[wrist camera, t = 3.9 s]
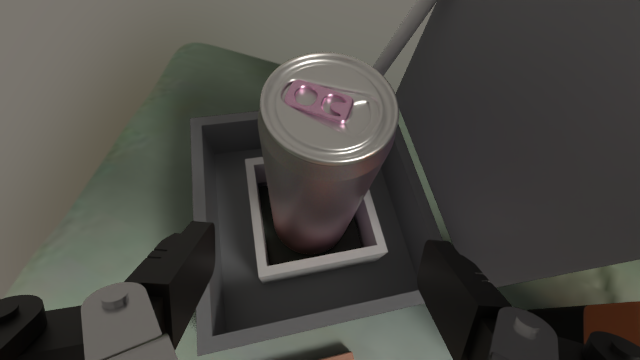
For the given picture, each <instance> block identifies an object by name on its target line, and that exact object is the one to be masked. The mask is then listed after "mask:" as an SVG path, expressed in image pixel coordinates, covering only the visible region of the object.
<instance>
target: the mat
mask: <svg viewBox="0 0 640 360" xmlns="http://www.w3.org/2000/svg"><path fill="white" fill-rule="evenodd" d="M318 360H354V358H353V353H352V352H351V351H350V352H346V353H342V354H338V355H334V356H330V357H326V358H322V359H318Z"/></svg>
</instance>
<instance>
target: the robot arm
mask: <svg viewBox="0 0 640 360" xmlns="http://www.w3.org/2000/svg"><path fill="white" fill-rule="evenodd" d="M214 268H215V225H214V223H212V222H199V221H192V222H191V223H190V224H189V225H188V226H187V227H186V229H185V230H184V231H183V232H182V233H181V234H179V233H174V234H173V235H171V236H169V237H167V238H165V239H164V240H162V241H161V242H160V243H159V244H158V245H157V246H156V248H155V249H154V251H152V252H151V253H150V254H149V255H148V257H147V258H145V260H144V261H143V262H142V263H141V264H140V265H139V266H138V267H137V268H136V269H135V270H134V272H133V273H132V274H131V275H130V276H129V277H128V278H127V279H126V280H125V281H124V282H122V283H116V284H112V285H109V286H106V287H103V288H101V289H99V290H97V291H96V292H94V293H92V294H91V295H90V296H89V297H87V299H86V300H85V301H84V302H83V304H82V305H81V306H76V307H69V308H63V309H56V310H50V311H45V309H44V305H43V301H42V300H41V299H40V298H39V297H37V296H33V295H18V296H12V297H8V298H4V299H0V360H178V358H177V356H176V353H175V349H176V347H177V345H178V343H179V341H180V339H181V337H182V335H183V333H184V331H185V329H186V327H187V325H188V323H189V321H190V319H191V317H192V315H193V313H194V311H195V309H196V307H197V305H198V303H199V301H200V299H201V297H202V295H203V293H204V291H205V289H206V287H207V285H208V283H209V281H210V279H211V277H212V275H213V272H214ZM417 285H418V289H419V292H420V294H421V296H422V298H423V300H424V302H425V304H426V306H427V308H428V310H429V312H430V314H431V316H432V318H433V320H434V322H435V324H436V326H437V328H438V330H439V332H440V334H441V336H442V338H443V340H444V342H445V344H446V346H447V348H448V350H449V352H450V354H451V356H452V358H453V360H640V347H639V346H637V345H636V344H634V343H632V342H630V341H628V340H626V339H624V338H622V337H620V336H617V335H614V334H612V333H608V332H603V331H594V332H592V333H591V334H590V335H589V337H588V339H587V341H586V343H585V344H582V343H579V342H575V341H572V340H568V339H565V338H561V337H558V336H557V335H556V333H555V331H554V330H553V329H552V327H551V326H550V325H549V324H548V323H546V322H545V321H544V320H543V319H541V318H540V317H538V316H536V315H534V314H533V313H531V312H528V311H526V310H523V309H520V308H516V307H512V306H511V305H510V303H509V302H508V301H507V300H506V299H505V298H504V296H503V295H502V294H501V293H500V292H499V291H498V290H497V288H496V287H495V286H494V285H493V284H492V283H490V280H489V279H488V278H487V277H486V276H485V275H483V272H482V271H481V270H480V269H479V268H478V267H477V265H476V264H475V263H473V262H472V261H470V260H469V259H467V258H466V257H465V256H463V255H460V254H459V253H458V251H457V250H456V249H455V248H454V247H453V245H452V244H451V243H450V242H449V241H441V240H427V241H426V243H425V245H424V249H423V254H422V258H421V262H420V266H419V270H418V275H417Z"/></svg>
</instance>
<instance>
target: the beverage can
mask: <svg viewBox="0 0 640 360" xmlns="http://www.w3.org/2000/svg"><path fill="white" fill-rule="evenodd" d="M398 120H399V105H398V101H397V98H396V95H395V92H394V90H393V89H392V87H391V85H390V84H389V83H388V81H387V80H386V79H385V78H384V77H383V75H382V74H381V73H379V72H378V71H377V70H376V69H374V68H373V67H372V66H370V65H369V64H367V63H365V62H363V61H361V60H359V59H356V58H353V57H351V56H348V55H344V54H339V53H331V52H316V53H309V54H304V55H301V56H297V57H295V58H292V59H290V60H288V61H286V62H285V63H283V64H282V65H280V66H279V67H278V68H277V69H275V70H274V71H273V72H272V74H271V75H270V76H269V77H268V79H267V80H266V82H265V84H264V86H263V89H262V92H261V97H260V108H259V112H258V130H259V136H260V142H261V148H262V155H263V161H264V167H265V173H266V179H267V185H268V191H269V198H270V204H271V210H272V216H273V222H274V227H275V231H276V233H277V235H278V237H279V239H280V240H281V241H282V242H283V243H284V244H285V245H286V246H287V247H288V248H290V249H291V250H293V251H295V252H298V253H301V254H307V255H313V254H319V253H323V252H325V251H327V250H329V249H331V248H332V247H334V246H335V245H336V244H337V243H338V242H339V240H340V239H341V237H342V236H343V234H344V232H345V230H346V229H347V227H348V225H349V223H350V221H351V220H352V218H353V216H354V214H355V213H356V211H357V209H358V207H359V205H360V204H361V202H362V200H363V198H364V197H365V195H366V193H367V191H368V189H369V188H370V186H371V184H372V182H373V180H374V179H375V177H376V175H377V173H378V172H379V170H380V168H381V166H382V164H383V163H384V161H385V159H386V157H387V156H388V154H389V152H390V150H391V148H392V146H393V143H394V139H395V133H396V128H397V125H398Z"/></svg>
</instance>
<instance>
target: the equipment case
mask: <svg viewBox="0 0 640 360" xmlns="http://www.w3.org/2000/svg"><path fill="white" fill-rule="evenodd" d="M436 2H437V3H436ZM435 3H436V5H435ZM434 5H435V7H434V9H433V12H432V14H431V16H430V18H429V20H428V23H427V25H426V27H425V29H424V32H423V34H422V36H421V38H420V40H419V43H418V45H417V47H416V49H415V52H414V54H413V56H412V59H411V61H410V63H409V65H408V67H407V69H406V72H405V74H404V76H403V78H402V81H401V83H400V86H399V87H398V90H397V92H396V94H395V95H396V98H397V101H398V105H399V109H400V112H401V114H402V117H403V119H404V122H405V124H406V127H407V129H408V132H409V134H410V137H411V139H412V142H413V144H414V147H415V150H416V152H417V155H418V157H419V160H420V162H421V165H422V167H423V170H424V172H425V175H426V177H427V180H428V182H429V185H430V187H431V190H432V192H433V195H434V198H435V200H436V203H437V205H438V208H439V210H440V213H441V215H442V218H443V220H444V223H445V225H446V228H447V230H448V233H449V235H450V238H451V241H452V243H453V246H454V248H455V249H456V250H457V251H458V253H459V254H460V255H463V256H465V257H466V258H467V259H469V260H470V261H472V262H473V263H475V264H476V265H477V267H478V268H479V269H480V270H481V271H482V272H483V275H485V276H486V277H487V278H488V279H489V280H490V283H492V284H493V285H494V286H495V287H501V286H506V285H512V284H517V283H522V282H527V281H532V280H537V279H542V278H547V277H552V276H557V275H562V274H567V273H573V272H578V271H583V270H588V269H593V268H598V267H603V266H608V265H613V264H618V263H623V262H628V261H634V260H639V259H640V0H417V1H416V2H415V4H414V5H413V7H412V8H411V10H410V11H409V13H408V14H407V16H406V17H405V19H404V20H403V22H402V23H401V25H400V26H399V28H398V29H397V31H396V33H395V34H394V36H393V37H392V39H391V40H390V42H389V43H388V45H387V46H386V48H385V49H384V51H383V52H382V54H381V55H380V57H379V58H378V60H377V61H376V63H375V64H374V66H373V68H374V69H376V70H377V71H378V72H379V73H381V74H382V75H384V74H385V73H386V71H387V70H388V68H389V67H390V66H391V64H392V63H393V62H394V60H395V59H396V57H397V56H398V55H399V53H400V52H401V50H402V49H403V48H404V46H405V45H406V43H407V42H408V41H409V39H410V38H411V37H412V35H413V34H414V32H415V31H416V29H417V28H418V27H419V25H420V24H421V22H422V21H423V20H424V18H425V17H426V16H427V14H428V13H429V12H430V10H431V9H432V7H433V6H434ZM258 112H259V111H253V112H244V113H234V114H225V115H216V116H206V117H197V118H190V132H191V164H192V195H193V221H199V222H212V223H214V225H215V268H214V272H213V275H212V277H211V279H210V281H209V283H208V285H207V287H206V289H205V291H204V293H203V295H202V297H201V299H200V301H199V303H198V305H197V307H196V322H197V354H198V356H201V355H205V354H209V353H214V352H218V351H222V350H226V349H231V348H235V347H239V346H244V345H248V344H252V343H256V342H261V341H265V340H269V339H274V338H278V337H282V336H287V335H291V334H295V333H299V332H304V331H308V330H312V329H317V328H321V327H325V326H329V325H334V324H338V323H342V322H347V321H351V320H355V319H359V318H364V317H368V316H372V315H377V314H381V313H385V312H390V311H394V310H398V309H402V308H407V307H411V306H415V305H420V304H424V303H425V302H424V300H423V298H422V296H421V294H420V292H419V289H418V285H417V275H418V270H419V266H420V262H421V258H422V254H423V249H424V245H425V243H426V241H427V240H441V241H443V240H442V237H441V234H440V232H439V229H438V227H437V224H436V221H435V219H434V216H433V214H432V211H431V208H430V206H429V203H428V200H427V198H426V195H425V193H424V190H423V187H422V185H421V182H420V180H419V177H418V174H417V172H416V169H415V167H414V164H413V161H412V159H411V156H410V154H409V151H408V148H407V146H406V143H405V140H404V138H403V135H402V133H401V130H400V127H399V125H397V128H396V133H395V139H394V143H393V146H392V148H391V150H390V152H389V154H388V156H387V157H386V159H385V161H384V163H383V164H382V166H381V168H380V170H379V172H378V173H377V175H376V177H375V179H374V180H373V182H372V184H371V186H370V188H369V189H368V191H367V193H366V195H365V197H364V198H363V200H362V202H361V204H360V205H359V207H358V209H357V211H356V213H355V214H354V219H355V223H356V227H357V230H358V234H359V238H360V242H361V245H362V248H359V249H354V250H349V251H344V252H338V253H333V254H328V255H323V256H318V257H312V258H307V259H302V260H297V261H292V262H286V263H281V264H276V265H271V266H269V260H268V253H267V245H266V238H265V230H264V223H263V215H262V208H261V200H260V193H259V187H262V186H268V185H267V179H266V173H265V167H264V161H263V155H262V148H261V142H260V136H259V130H258Z"/></svg>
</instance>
